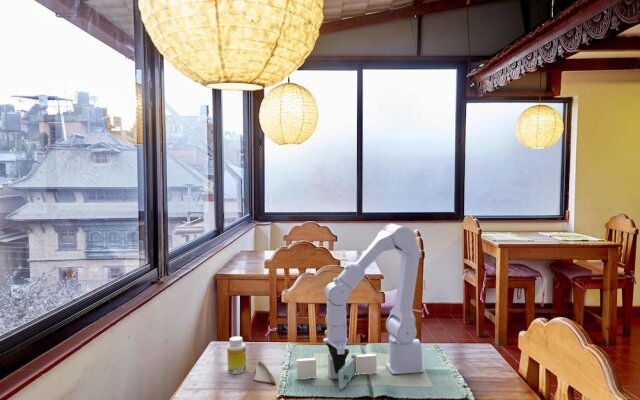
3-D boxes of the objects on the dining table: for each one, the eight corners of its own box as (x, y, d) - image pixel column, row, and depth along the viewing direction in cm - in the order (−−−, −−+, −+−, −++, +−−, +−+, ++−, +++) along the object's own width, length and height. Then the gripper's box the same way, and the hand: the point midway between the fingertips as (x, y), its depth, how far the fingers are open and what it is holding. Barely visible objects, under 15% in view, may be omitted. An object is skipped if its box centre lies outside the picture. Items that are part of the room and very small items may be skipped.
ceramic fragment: (276, 386, 134) (276, 372, 134) (259, 389, 132) (259, 376, 132) (261, 369, 147) (261, 357, 147) (245, 372, 145) (245, 359, 145)
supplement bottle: (247, 373, 143) (246, 340, 142) (229, 376, 141) (228, 342, 140) (244, 366, 148) (243, 334, 147) (226, 369, 146) (225, 336, 146)
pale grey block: (343, 371, 141) (342, 353, 140) (345, 377, 136) (345, 359, 136) (328, 372, 140) (327, 354, 140) (330, 378, 136) (329, 360, 135)
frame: (375, 371, 142) (375, 352, 141) (376, 373, 140) (376, 354, 140) (297, 377, 139) (296, 358, 139) (297, 379, 137) (296, 360, 137)
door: (350, 374, 139) (350, 357, 139) (357, 375, 138) (357, 358, 138) (338, 388, 130) (338, 371, 130) (346, 390, 129) (345, 372, 129)
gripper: (320, 317, 144) (321, 360, 145) (326, 332, 130) (327, 380, 130) (343, 315, 145) (343, 358, 146) (351, 331, 130) (352, 379, 131)
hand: (337, 369), depth 138 cm, fingers closed on pale grey block, 4 cm apart
